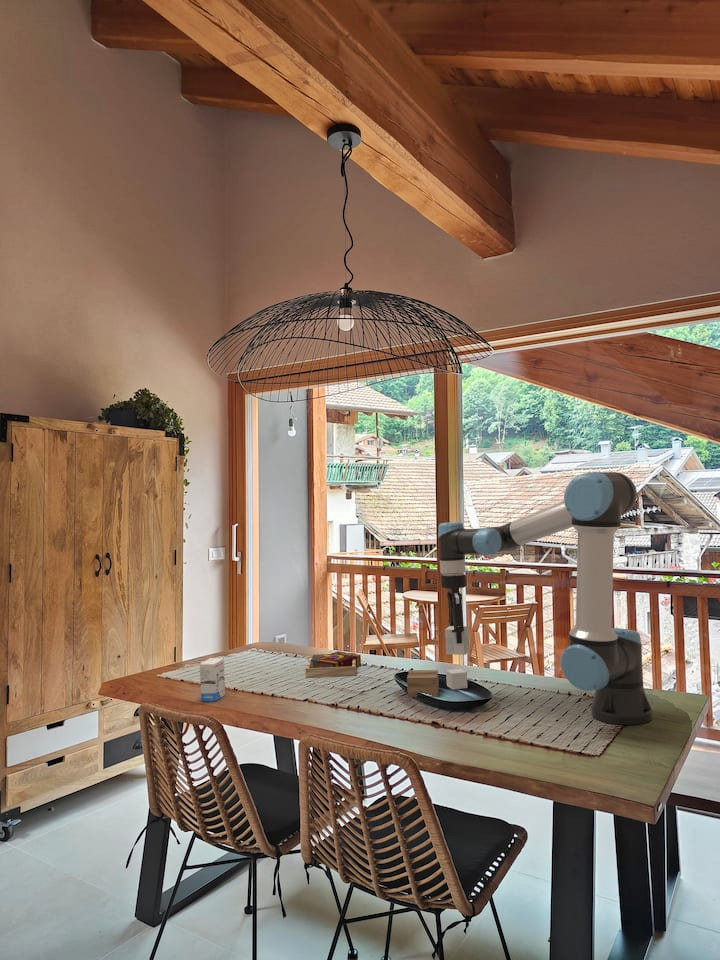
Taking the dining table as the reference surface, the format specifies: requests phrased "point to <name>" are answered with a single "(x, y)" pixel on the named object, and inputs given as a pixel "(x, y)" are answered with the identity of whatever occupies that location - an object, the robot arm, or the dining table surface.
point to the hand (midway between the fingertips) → (457, 651)
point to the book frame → (329, 669)
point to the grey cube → (456, 679)
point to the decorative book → (336, 660)
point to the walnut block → (422, 682)
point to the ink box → (212, 679)
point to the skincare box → (450, 640)
